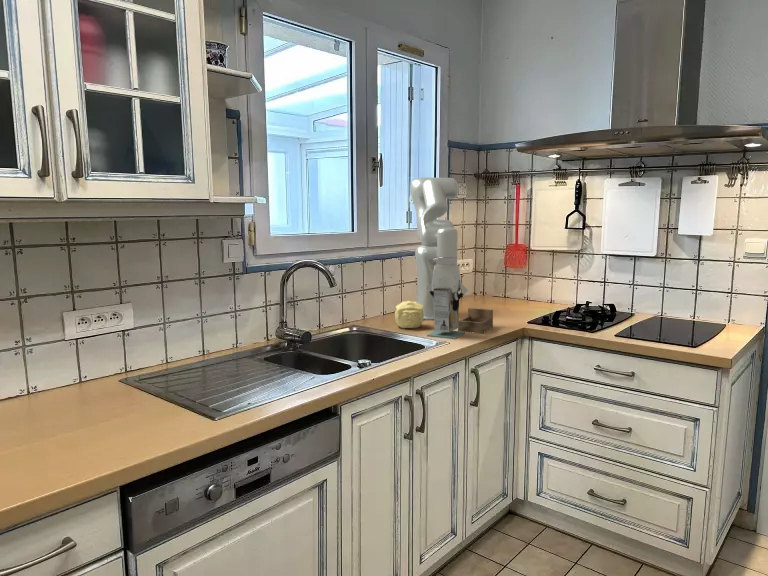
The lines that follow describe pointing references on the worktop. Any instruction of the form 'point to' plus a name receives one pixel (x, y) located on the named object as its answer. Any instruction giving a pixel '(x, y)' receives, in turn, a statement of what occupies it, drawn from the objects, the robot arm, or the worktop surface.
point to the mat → (446, 334)
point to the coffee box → (445, 311)
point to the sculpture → (409, 314)
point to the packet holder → (476, 321)
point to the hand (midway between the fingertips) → (446, 308)
